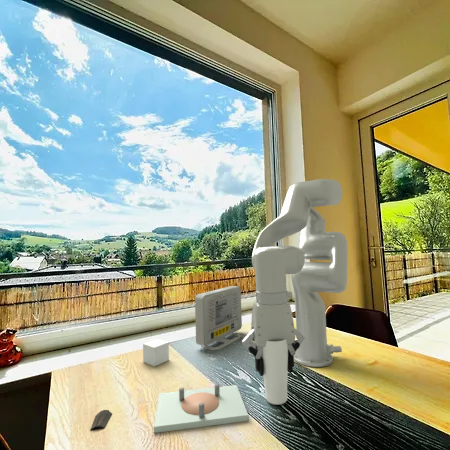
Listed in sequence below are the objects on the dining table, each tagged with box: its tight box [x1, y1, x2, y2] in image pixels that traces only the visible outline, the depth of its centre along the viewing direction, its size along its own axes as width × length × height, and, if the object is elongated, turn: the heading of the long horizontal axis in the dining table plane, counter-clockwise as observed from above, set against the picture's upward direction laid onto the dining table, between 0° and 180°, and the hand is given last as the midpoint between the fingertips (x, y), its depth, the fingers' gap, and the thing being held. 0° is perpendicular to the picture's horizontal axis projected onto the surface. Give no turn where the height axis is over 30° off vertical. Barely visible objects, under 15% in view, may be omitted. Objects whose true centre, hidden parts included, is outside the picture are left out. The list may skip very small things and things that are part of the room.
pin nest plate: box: [153, 383, 249, 434], centre depth 65 cm, size 20×13×4 cm, turn 99°
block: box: [89, 409, 113, 431], centre depth 61 cm, size 4×6×2 cm, turn 11°
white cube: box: [142, 338, 170, 367], centre depth 92 cm, size 6×6×6 cm
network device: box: [194, 285, 243, 351], centre depth 110 cm, size 26×9×20 cm, turn 144°
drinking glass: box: [261, 339, 289, 405], centre depth 67 cm, size 7×7×15 cm
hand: (274, 371), depth 67 cm, fingers closed on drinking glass, 6 cm apart
